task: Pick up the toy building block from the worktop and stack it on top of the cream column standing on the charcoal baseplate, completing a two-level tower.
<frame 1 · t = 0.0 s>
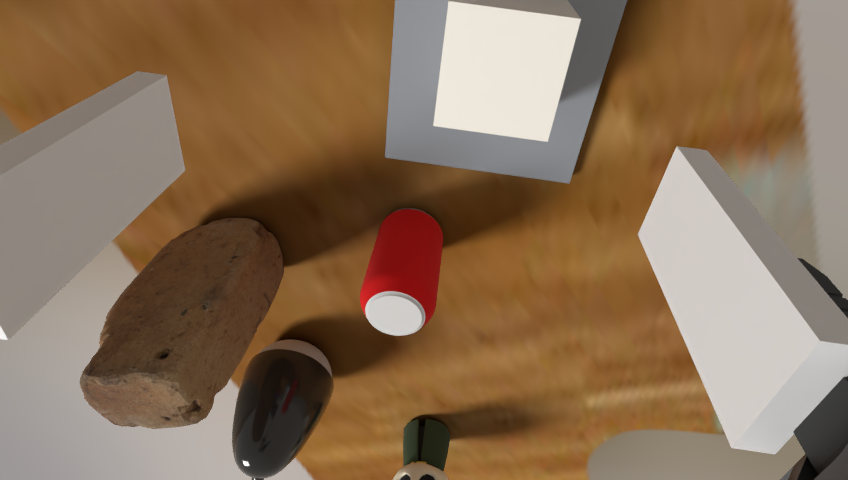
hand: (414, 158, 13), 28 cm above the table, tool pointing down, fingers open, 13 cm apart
beverage can: (412, 229, 49), on the table
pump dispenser: (300, 355, 61), on the table
character mug: (427, 427, 68), on the table
block: (237, 243, 52), on the table
build base: (498, 47, 38), on the table
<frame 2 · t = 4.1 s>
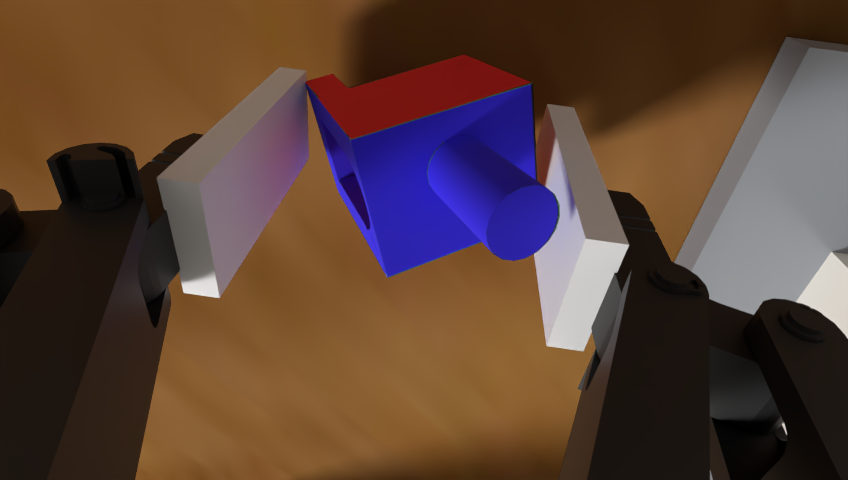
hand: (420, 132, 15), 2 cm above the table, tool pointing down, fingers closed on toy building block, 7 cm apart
toy building block: (426, 119, 15), point 1 cm above the table, touching gripper
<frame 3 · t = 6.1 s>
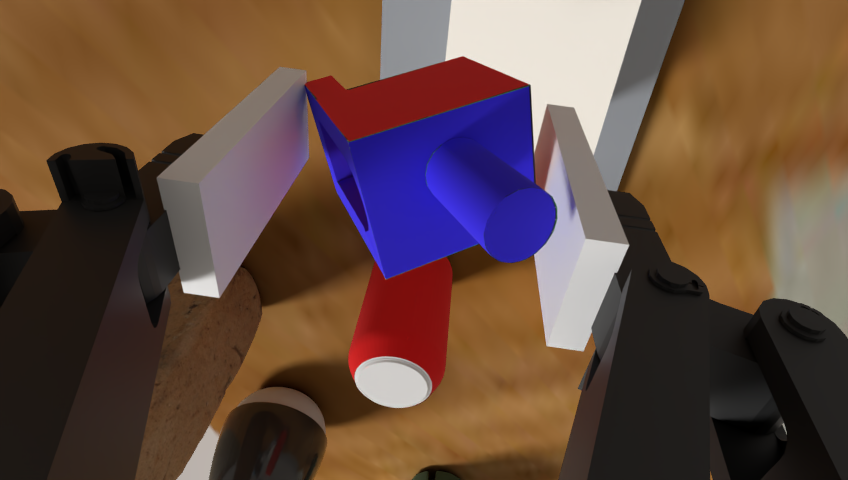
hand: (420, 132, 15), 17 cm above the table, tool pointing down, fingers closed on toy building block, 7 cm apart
beverage can: (415, 261, 40), on the table
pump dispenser: (288, 402, 53), on the table
character mug: (438, 478, 59), on the table
block: (206, 280, 44), on the table
build base: (520, 34, 29), on the table
toy building block: (425, 121, 15), point 17 cm above the table, touching gripper
when the fingers open (9 cm above the table, at t = 8.3 s): toy building block drops 1 cm, resting on build base.
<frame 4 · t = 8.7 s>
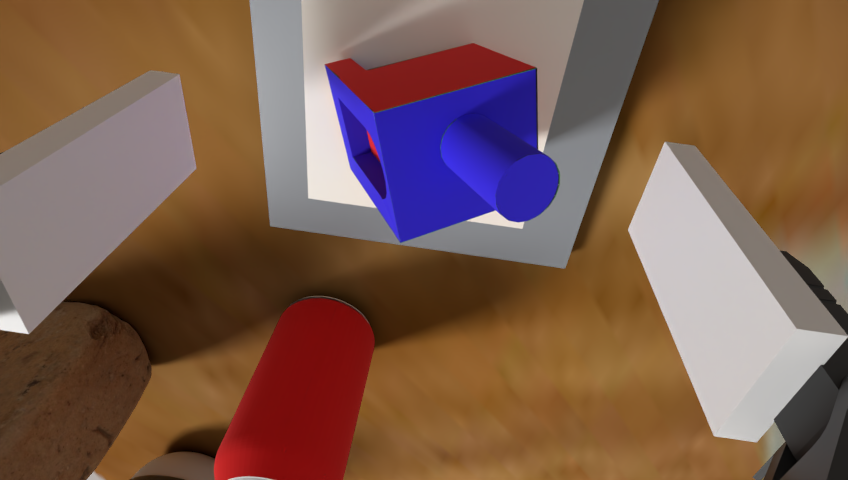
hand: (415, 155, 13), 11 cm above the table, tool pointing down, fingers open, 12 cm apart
beverage can: (331, 320, 33), on the table
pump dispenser: (201, 466, 45), on the table
block: (85, 334, 36), on the table
build base: (441, 50, 22), on the table
toy building block: (435, 103, 16), point 7 cm above the table, touching build base
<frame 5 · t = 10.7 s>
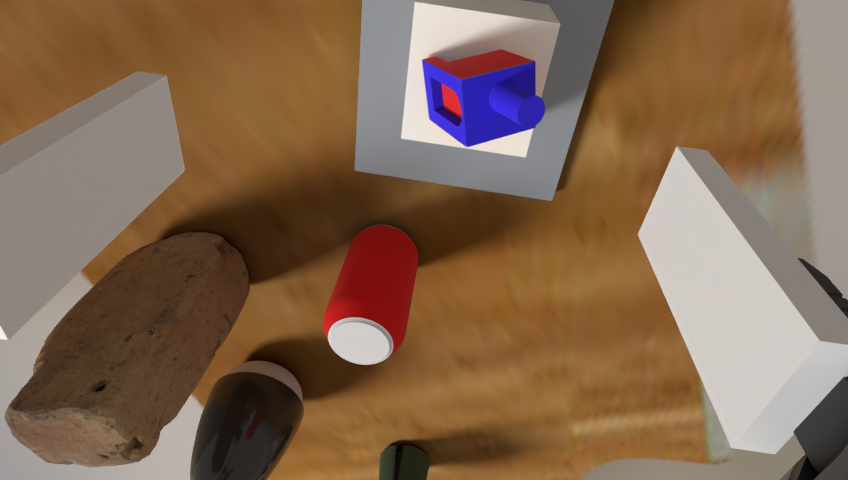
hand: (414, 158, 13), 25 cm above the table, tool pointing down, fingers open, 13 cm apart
beverage can: (386, 246, 46), on the table
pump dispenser: (270, 376, 58), on the table
character mug: (405, 453, 64), on the table
block: (200, 259, 49), on the table
build base: (475, 54, 35), on the table
toy building block: (479, 82, 30), point 7 cm above the table, touching build base
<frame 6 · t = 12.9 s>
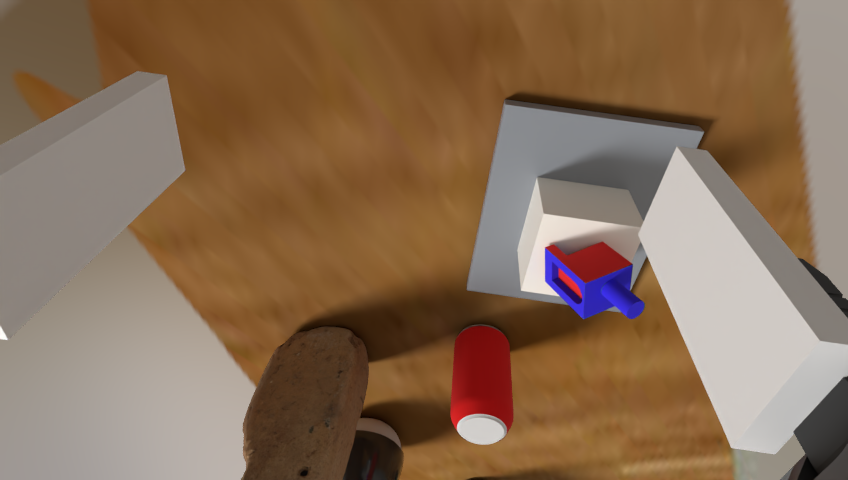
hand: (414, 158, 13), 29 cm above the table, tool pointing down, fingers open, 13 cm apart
beverage can: (482, 337, 58), on the table
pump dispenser: (371, 428, 70), on the table
block: (328, 344, 61), on the table
build base: (568, 214, 47), on the table
toy building block: (583, 258, 41), point 7 cm above the table, touching build base
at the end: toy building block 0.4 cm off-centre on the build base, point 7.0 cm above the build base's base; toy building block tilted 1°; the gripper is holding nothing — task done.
